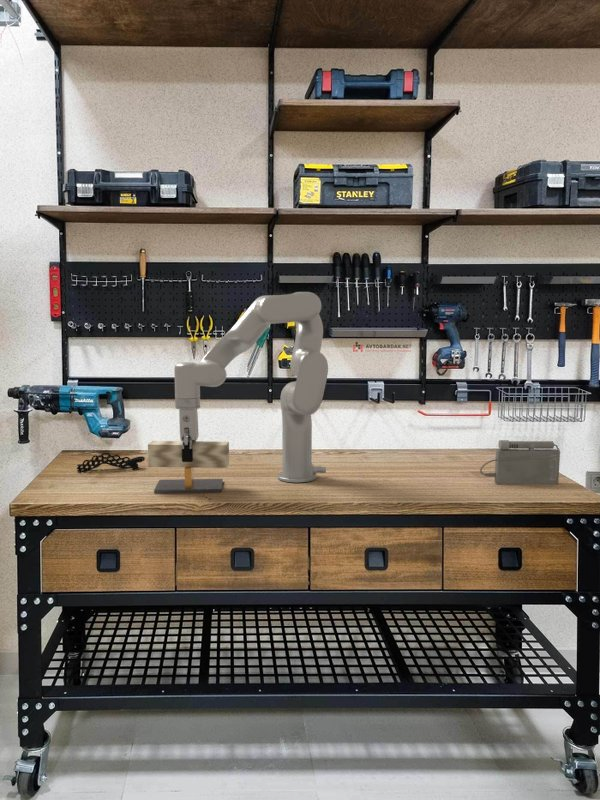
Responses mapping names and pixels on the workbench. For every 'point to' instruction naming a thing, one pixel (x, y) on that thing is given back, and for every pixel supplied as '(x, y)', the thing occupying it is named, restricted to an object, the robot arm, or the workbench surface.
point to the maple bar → (203, 454)
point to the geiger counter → (526, 463)
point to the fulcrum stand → (189, 484)
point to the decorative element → (128, 462)
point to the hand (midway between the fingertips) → (188, 458)
